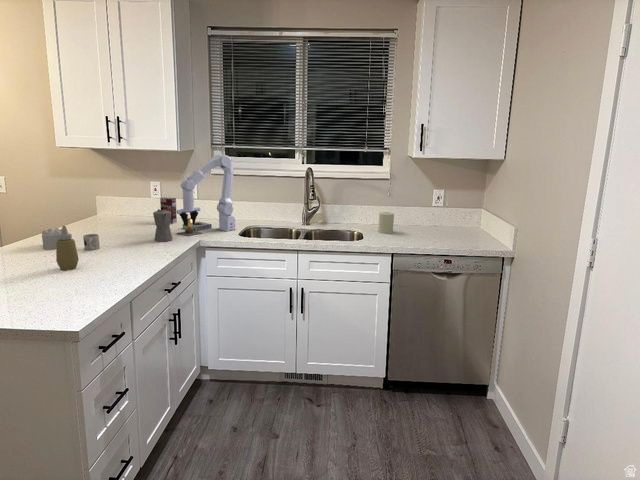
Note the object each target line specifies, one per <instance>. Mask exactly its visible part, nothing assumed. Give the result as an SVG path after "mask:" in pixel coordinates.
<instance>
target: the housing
mask: <svg viewBox="0 0 640 480" xmlns="http://www.w3.org/2000/svg"><path fill="white" fill-rule="evenodd" d="M212 225H213V224H211V223H208V222H203V221H195V225H193V231H197V232H200V231H203V230H208V229H212V228H213V227H212ZM182 229H183V230H185V226H184V223H183V224H182Z"/></svg>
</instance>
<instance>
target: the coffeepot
mask: <svg viewBox="0 0 640 480" xmlns="http://www.w3.org/2000/svg"><path fill="white" fill-rule="evenodd" d="M159 208H160V209H159ZM159 208H158V209H157V211H156V210H155V211H153V212H152V215H153V221H154V223H155V226H156V228H155V235H154V241H155V242H158V243H167V242H171V241H173V234H172V230H171V227H170V225H171V224H170V221H171V212H170V211H165V210H163V208H164V207H161V206H160V207H159Z"/></svg>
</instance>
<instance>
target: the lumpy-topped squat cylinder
mask: <svg viewBox="0 0 640 480" xmlns="http://www.w3.org/2000/svg"><path fill="white" fill-rule="evenodd" d="M61 232H62V228H61V229H60V228H58V227H55V228H54V229H52V228H48V229H47V230H46V229H44V230H42V231H41V239H42V246H43V247H42V248H43V250H45V251H53V250H56V242H57V241H58V240H60V239H59V236H58V235H60V234H61Z"/></svg>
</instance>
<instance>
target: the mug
mask: <svg viewBox="0 0 640 480" xmlns="http://www.w3.org/2000/svg"><path fill="white" fill-rule="evenodd" d="M82 238H83V247H84V251H98V250H99V249H100V248H101V247H100V235H99V234H96V233H89V234H83V237H82Z"/></svg>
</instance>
